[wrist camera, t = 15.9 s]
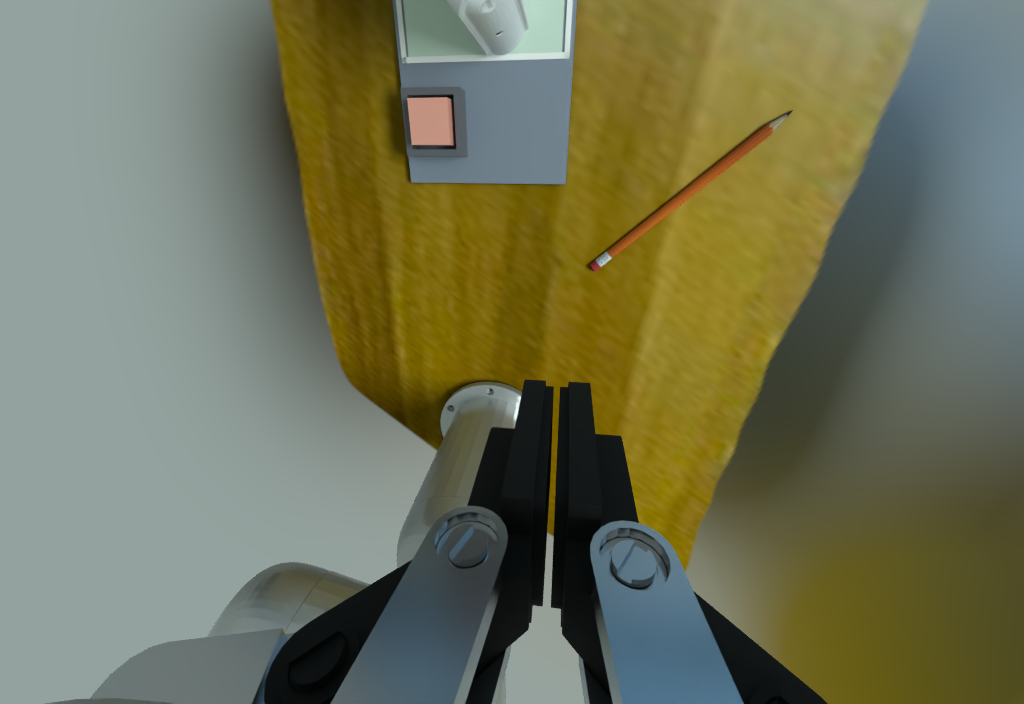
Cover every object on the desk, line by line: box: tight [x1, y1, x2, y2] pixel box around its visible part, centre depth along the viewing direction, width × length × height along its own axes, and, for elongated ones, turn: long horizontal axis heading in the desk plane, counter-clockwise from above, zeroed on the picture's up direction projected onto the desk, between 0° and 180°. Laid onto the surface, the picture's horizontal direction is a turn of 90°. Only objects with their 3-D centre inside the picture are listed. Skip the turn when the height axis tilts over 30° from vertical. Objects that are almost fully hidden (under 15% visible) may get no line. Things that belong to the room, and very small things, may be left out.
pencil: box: [590, 110, 793, 271], centre depth 33 cm, size 1×19×1 cm, turn 132°
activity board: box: [392, 0, 577, 184], centre depth 29 cm, size 20×14×2 cm
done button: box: [407, 97, 456, 146], centre depth 31 cm, size 3×3×2 cm
